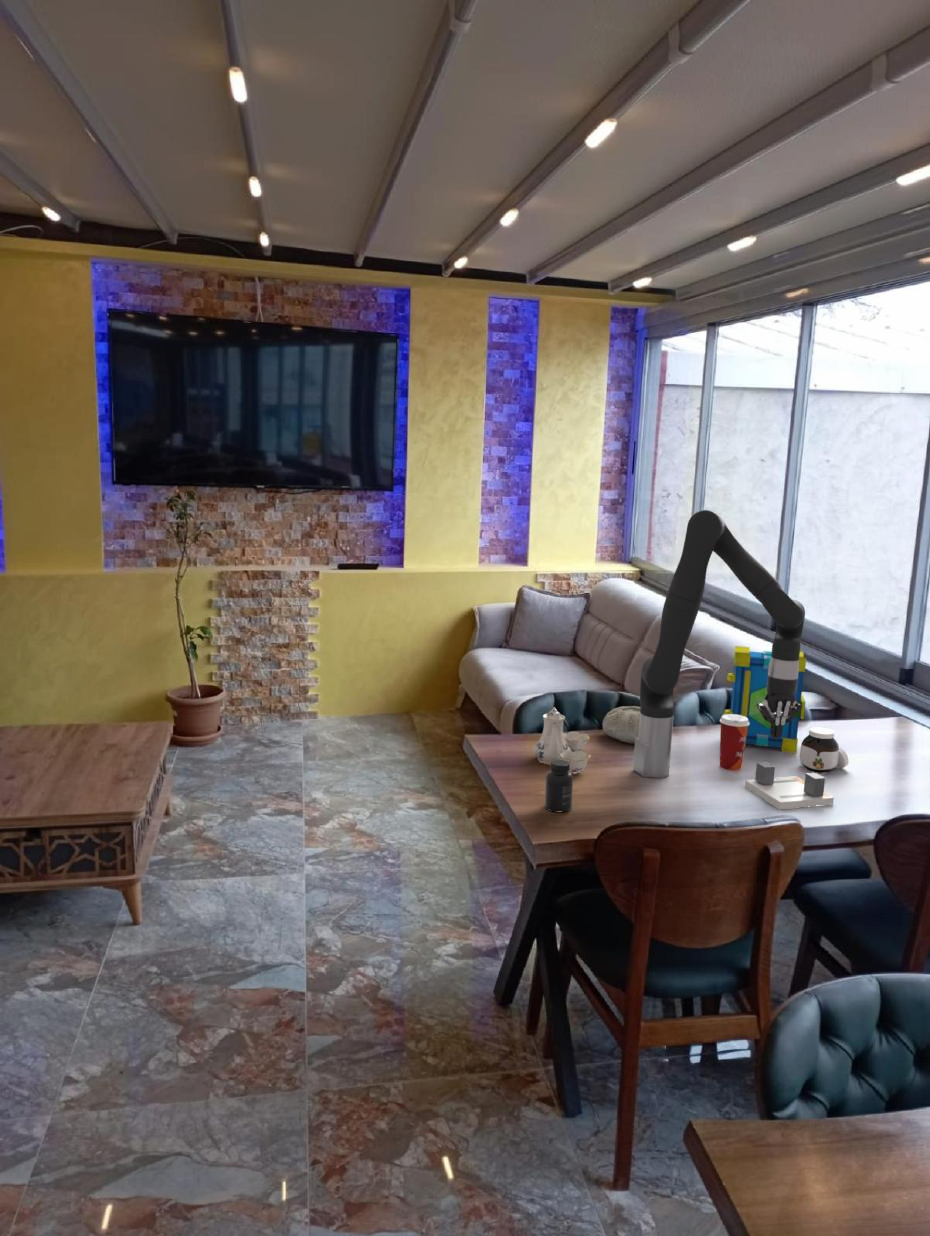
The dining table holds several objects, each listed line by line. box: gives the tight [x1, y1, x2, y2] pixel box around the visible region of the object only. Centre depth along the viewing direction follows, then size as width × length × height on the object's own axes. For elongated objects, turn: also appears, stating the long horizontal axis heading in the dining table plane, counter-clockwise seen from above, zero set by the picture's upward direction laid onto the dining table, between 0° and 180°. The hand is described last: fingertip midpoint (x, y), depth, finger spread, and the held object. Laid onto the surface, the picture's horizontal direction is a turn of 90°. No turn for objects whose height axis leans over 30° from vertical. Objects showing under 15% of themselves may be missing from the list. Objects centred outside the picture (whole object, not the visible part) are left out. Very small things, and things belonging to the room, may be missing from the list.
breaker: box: [804, 772, 826, 797], centre depth 232 cm, size 3×4×5 cm
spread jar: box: [799, 726, 849, 774], centre depth 258 cm, size 12×11×12 cm
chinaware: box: [532, 706, 592, 773], centre depth 256 cm, size 28×17×17 cm, turn 178°
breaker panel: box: [744, 775, 835, 811], centre depth 236 cm, size 16×16×2 cm
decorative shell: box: [601, 705, 640, 745], centre depth 279 cm, size 18×18×10 cm
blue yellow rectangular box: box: [723, 645, 807, 754], centre depth 277 cm, size 14×23×30 cm, turn 75°
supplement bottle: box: [544, 760, 574, 812], centre depth 222 cm, size 7×7×12 cm
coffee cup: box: [719, 714, 749, 772], centre depth 256 cm, size 8×8×15 cm
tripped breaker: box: [754, 761, 776, 785], centre depth 239 cm, size 3×4×5 cm
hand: (775, 737), depth 238 cm, fingers closed
